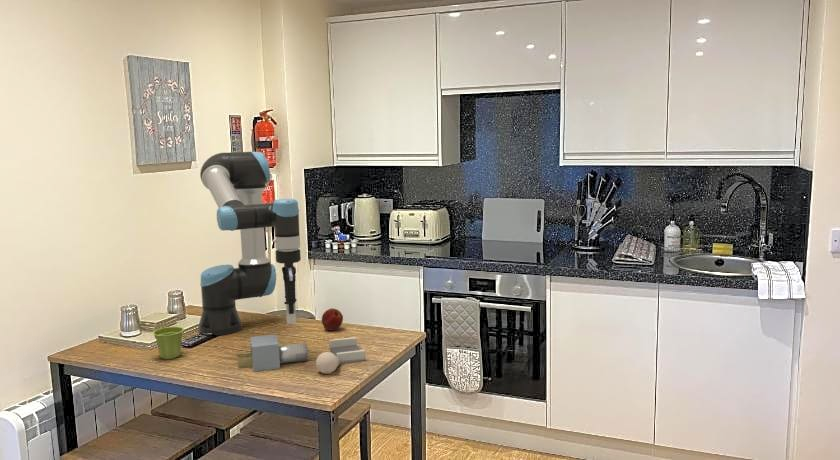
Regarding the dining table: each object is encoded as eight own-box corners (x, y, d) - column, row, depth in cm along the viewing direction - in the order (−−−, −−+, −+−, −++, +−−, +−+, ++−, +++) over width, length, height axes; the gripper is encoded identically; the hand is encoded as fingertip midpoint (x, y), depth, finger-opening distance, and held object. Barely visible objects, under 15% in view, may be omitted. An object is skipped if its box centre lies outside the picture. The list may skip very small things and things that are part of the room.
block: (251, 360, 208) (250, 337, 207) (276, 357, 211) (275, 334, 209) (253, 371, 199) (251, 347, 198) (280, 368, 201) (278, 344, 200)
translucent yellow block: (238, 365, 205) (237, 354, 204) (264, 362, 207) (263, 351, 207) (238, 369, 202) (237, 358, 201) (264, 366, 204) (264, 355, 203)
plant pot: (156, 353, 216) (153, 328, 215) (186, 349, 219) (184, 325, 217) (154, 363, 207) (151, 336, 206) (185, 359, 210) (183, 333, 209)
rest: (329, 349, 218) (329, 339, 217) (356, 346, 220) (355, 337, 220) (337, 363, 204) (337, 354, 204) (365, 360, 207) (365, 350, 206)
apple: (330, 334, 233) (330, 312, 232) (317, 329, 239) (316, 308, 237) (346, 329, 239) (346, 308, 237) (333, 325, 244) (332, 304, 243)
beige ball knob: (332, 347, 205) (315, 349, 195) (350, 354, 203) (334, 356, 193) (326, 367, 205) (309, 370, 195) (344, 374, 203) (328, 377, 192)
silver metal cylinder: (269, 368, 204) (268, 354, 201) (267, 357, 208) (267, 343, 206) (307, 364, 207) (308, 350, 204) (305, 352, 212) (305, 339, 209)
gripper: (273, 246, 206) (277, 318, 210) (277, 253, 194) (281, 330, 198) (297, 244, 208) (301, 316, 212) (302, 252, 196) (306, 327, 200)
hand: (291, 322), depth 205 cm, fingers closed
